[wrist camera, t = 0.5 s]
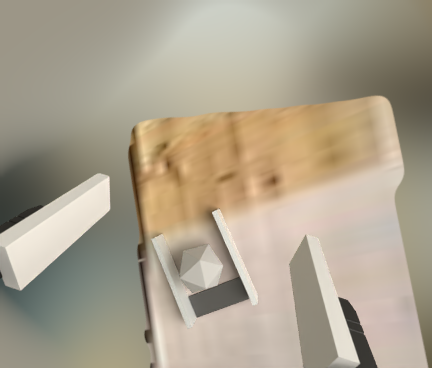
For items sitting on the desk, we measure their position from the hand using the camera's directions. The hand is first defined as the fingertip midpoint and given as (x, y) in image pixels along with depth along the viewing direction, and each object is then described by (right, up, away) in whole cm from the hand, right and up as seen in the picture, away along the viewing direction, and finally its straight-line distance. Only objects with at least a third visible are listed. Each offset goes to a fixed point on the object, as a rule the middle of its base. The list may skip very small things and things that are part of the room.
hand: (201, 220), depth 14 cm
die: (-1, -14, +32) cm, 35 cm away
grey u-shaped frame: (-1, -14, +32) cm, 35 cm away
